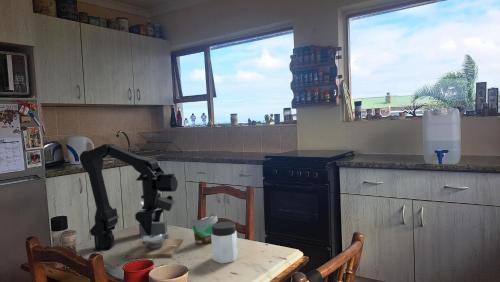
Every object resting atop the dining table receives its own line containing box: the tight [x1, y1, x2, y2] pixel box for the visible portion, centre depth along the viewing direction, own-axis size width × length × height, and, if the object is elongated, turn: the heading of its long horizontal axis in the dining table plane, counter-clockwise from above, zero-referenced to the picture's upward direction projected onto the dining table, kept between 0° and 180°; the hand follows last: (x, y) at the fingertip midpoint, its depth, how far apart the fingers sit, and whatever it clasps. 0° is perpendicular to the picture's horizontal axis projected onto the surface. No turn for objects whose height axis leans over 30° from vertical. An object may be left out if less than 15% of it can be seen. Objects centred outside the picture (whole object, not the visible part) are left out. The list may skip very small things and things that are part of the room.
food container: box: [191, 212, 219, 246], centre depth 146 cm, size 12×6×10 cm, turn 143°
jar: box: [211, 221, 239, 264], centre depth 127 cm, size 9×8×12 cm
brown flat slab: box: [122, 238, 184, 259], centre depth 141 cm, size 18×16×3 cm
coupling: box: [138, 221, 170, 245], centre depth 140 cm, size 11×9×7 cm
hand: (153, 231), depth 140 cm, fingers open, 9 cm apart
